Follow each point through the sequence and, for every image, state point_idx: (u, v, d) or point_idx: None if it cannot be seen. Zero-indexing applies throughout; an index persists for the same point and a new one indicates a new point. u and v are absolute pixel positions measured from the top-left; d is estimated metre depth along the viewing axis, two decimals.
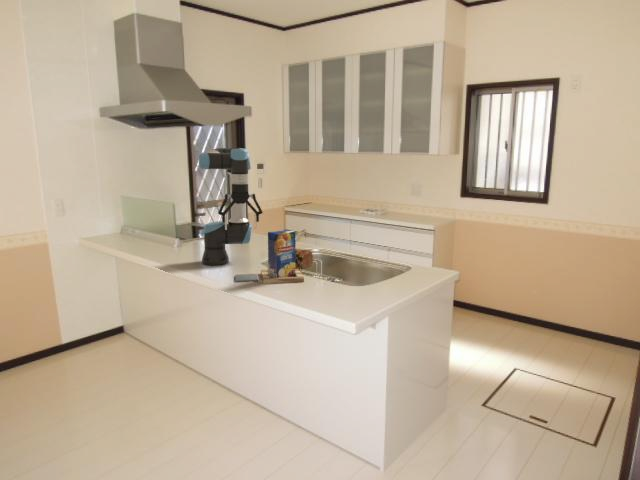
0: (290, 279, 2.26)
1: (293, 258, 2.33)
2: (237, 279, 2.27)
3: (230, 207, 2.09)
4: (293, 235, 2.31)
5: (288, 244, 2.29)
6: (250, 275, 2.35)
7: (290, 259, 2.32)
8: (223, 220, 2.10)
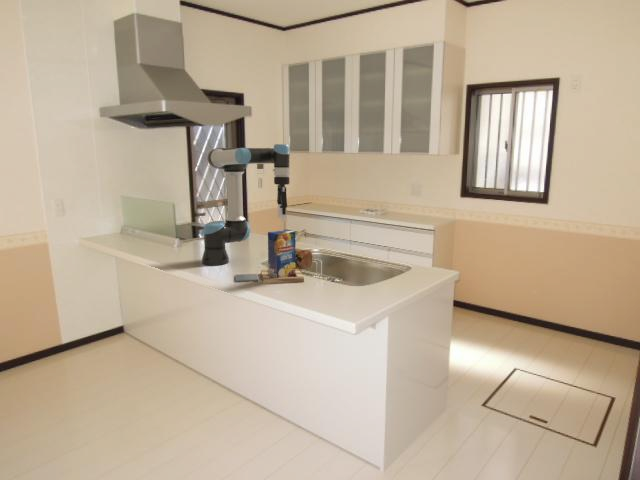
0: (290, 279, 2.26)
1: (293, 258, 2.33)
2: (237, 279, 2.27)
3: (278, 197, 2.30)
4: (293, 235, 2.31)
5: (288, 244, 2.29)
6: (250, 275, 2.35)
7: (290, 260, 2.32)
8: None
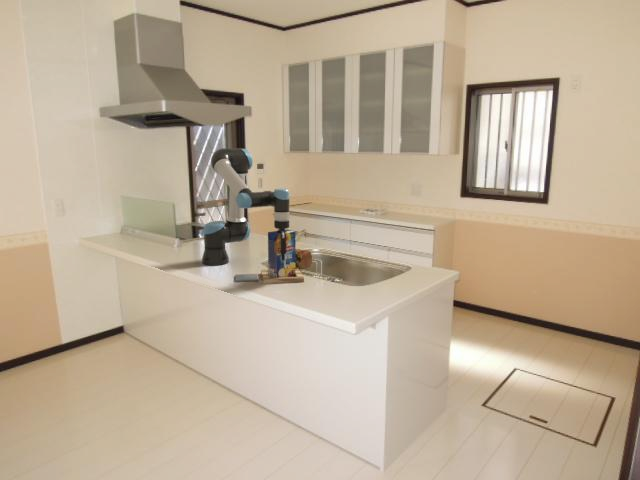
0: (290, 279, 2.26)
1: (293, 258, 2.33)
2: (237, 279, 2.27)
3: None
4: (293, 235, 2.31)
5: (288, 244, 2.29)
6: (250, 275, 2.35)
7: (290, 260, 2.32)
8: None
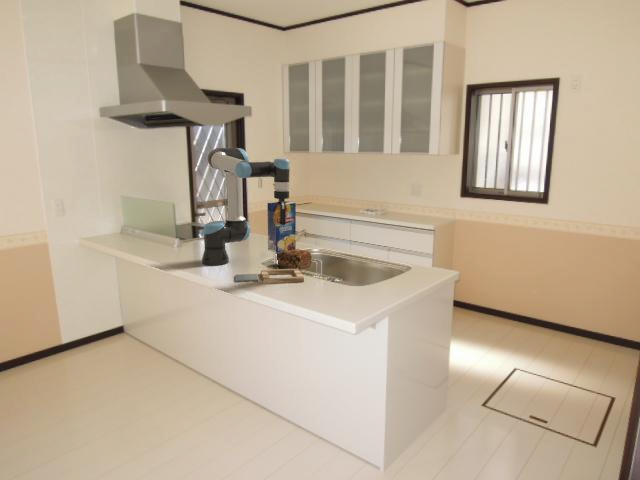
0: (290, 279, 2.26)
1: (293, 230, 2.30)
2: (237, 279, 2.27)
3: None
4: (293, 207, 2.27)
5: (287, 215, 2.26)
6: (250, 275, 2.35)
7: (290, 231, 2.29)
8: None
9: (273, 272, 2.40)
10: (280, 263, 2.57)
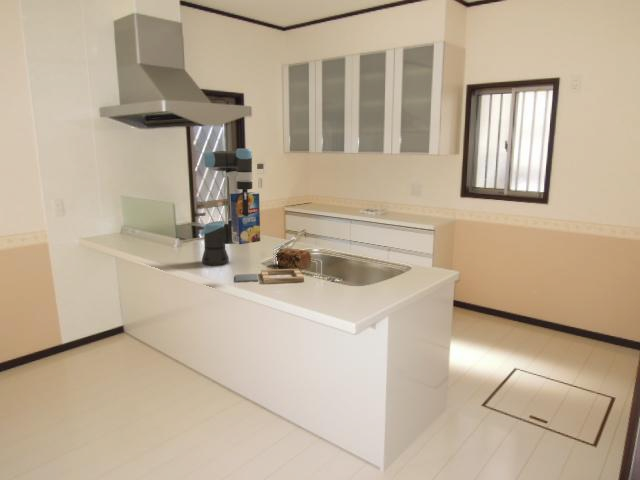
0: (290, 279, 2.26)
1: (257, 221, 2.26)
2: (237, 279, 2.27)
3: None
4: (257, 197, 2.24)
5: (251, 206, 2.22)
6: (250, 275, 2.35)
7: (253, 223, 2.25)
8: None
9: (273, 272, 2.40)
10: (280, 263, 2.57)
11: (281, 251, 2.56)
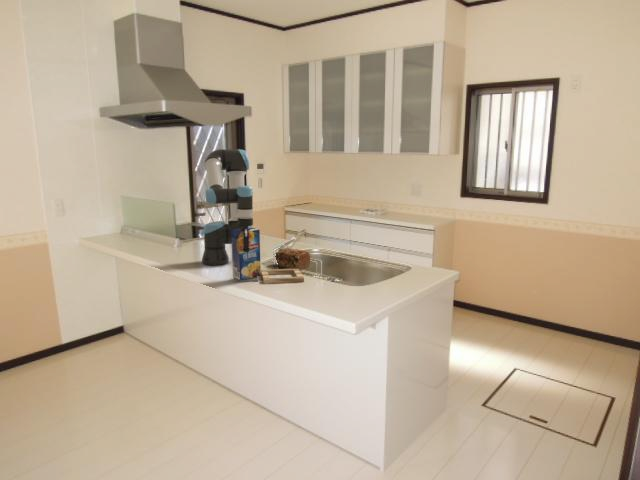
0: (290, 279, 2.26)
1: (258, 256, 2.30)
2: (237, 279, 2.27)
3: None
4: (257, 233, 2.27)
5: (251, 242, 2.26)
6: None
7: (254, 258, 2.28)
8: None
9: (273, 272, 2.40)
10: (279, 263, 2.57)
11: (280, 251, 2.56)
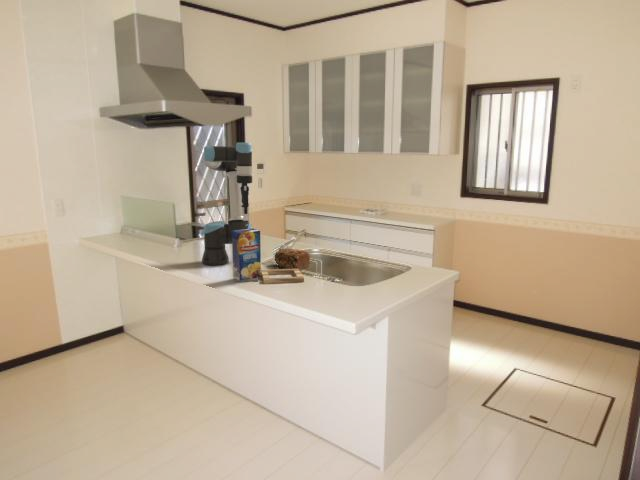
0: (290, 279, 2.26)
1: (258, 258, 2.30)
2: (237, 279, 2.27)
3: (242, 196, 2.28)
4: (258, 234, 2.27)
5: (251, 243, 2.26)
6: None
7: (254, 259, 2.28)
8: (242, 207, 2.32)
9: (273, 272, 2.40)
10: (278, 263, 2.57)
11: (280, 251, 2.56)
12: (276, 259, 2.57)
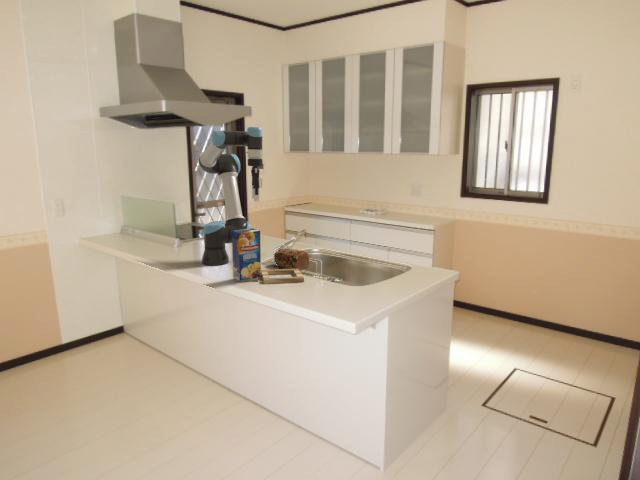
0: (290, 279, 2.26)
1: (258, 258, 2.30)
2: (237, 279, 2.27)
3: (252, 179, 2.39)
4: (258, 234, 2.27)
5: (251, 243, 2.26)
6: None
7: (254, 259, 2.28)
8: None
9: (273, 272, 2.40)
10: (278, 263, 2.56)
11: (279, 251, 2.56)
12: (276, 259, 2.57)
